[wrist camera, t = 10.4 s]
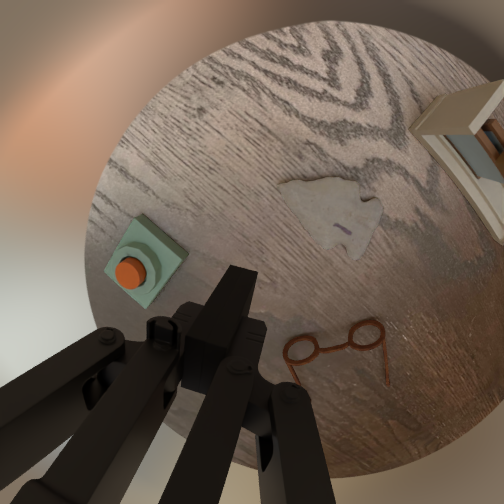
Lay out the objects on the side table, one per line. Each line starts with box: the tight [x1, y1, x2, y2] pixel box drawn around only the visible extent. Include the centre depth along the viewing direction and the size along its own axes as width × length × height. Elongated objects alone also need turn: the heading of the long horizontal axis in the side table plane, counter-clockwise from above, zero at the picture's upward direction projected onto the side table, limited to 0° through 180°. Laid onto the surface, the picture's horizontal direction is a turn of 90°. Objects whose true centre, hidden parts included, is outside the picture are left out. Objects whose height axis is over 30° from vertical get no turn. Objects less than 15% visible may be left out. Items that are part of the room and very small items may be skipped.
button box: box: [104, 214, 189, 309], centre depth 38 cm, size 8×10×4 cm
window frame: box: [409, 79, 504, 246], centre depth 22 cm, size 18×6×14 cm, turn 51°
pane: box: [481, 119, 504, 176], centre depth 19 cm, size 8×5×13 cm, turn 51°
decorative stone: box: [277, 177, 384, 260], centre depth 32 cm, size 8×12×3 cm
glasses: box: [283, 320, 390, 401], centre depth 38 cm, size 13×13×5 cm
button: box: [115, 257, 146, 290], centre depth 36 cm, size 4×4×2 cm
